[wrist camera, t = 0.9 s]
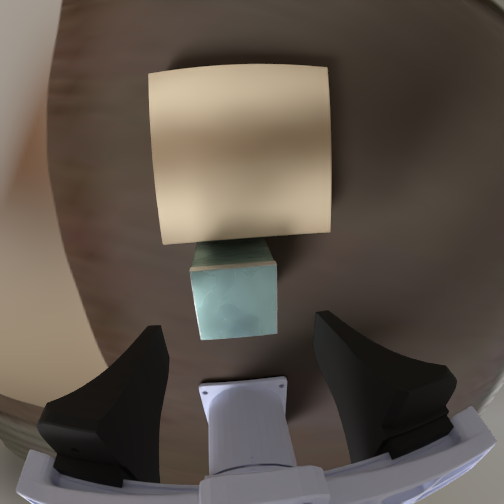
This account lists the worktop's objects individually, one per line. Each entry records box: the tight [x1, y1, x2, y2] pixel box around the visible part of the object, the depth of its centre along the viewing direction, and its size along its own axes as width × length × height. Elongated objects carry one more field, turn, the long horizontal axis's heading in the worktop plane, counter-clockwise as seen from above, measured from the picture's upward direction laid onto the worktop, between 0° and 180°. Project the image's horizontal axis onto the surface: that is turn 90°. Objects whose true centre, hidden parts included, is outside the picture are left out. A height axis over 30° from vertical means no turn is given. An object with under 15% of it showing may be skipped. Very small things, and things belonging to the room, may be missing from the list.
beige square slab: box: [149, 64, 331, 245], centre depth 16 cm, size 10×10×3 cm
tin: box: [190, 237, 277, 340], centre depth 18 cm, size 4×4×5 cm
